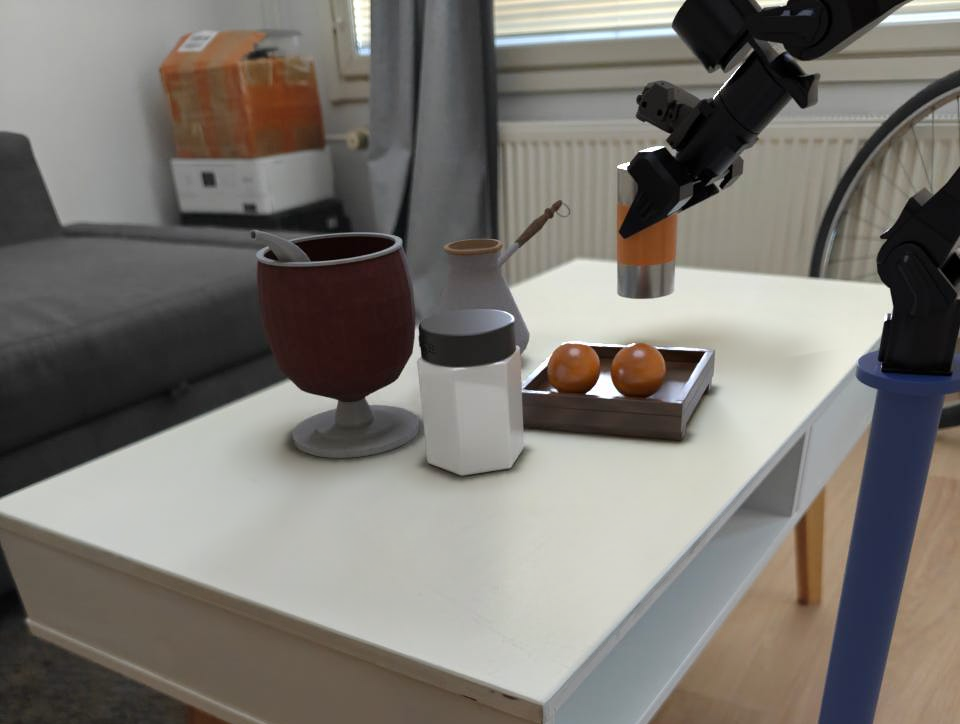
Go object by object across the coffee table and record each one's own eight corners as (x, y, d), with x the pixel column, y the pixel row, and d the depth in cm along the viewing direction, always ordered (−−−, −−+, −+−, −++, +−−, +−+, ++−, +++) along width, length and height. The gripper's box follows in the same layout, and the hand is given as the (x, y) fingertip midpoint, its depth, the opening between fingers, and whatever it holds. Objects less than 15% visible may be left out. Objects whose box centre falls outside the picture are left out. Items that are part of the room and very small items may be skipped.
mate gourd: (350, 400, 98) (320, 194, 87) (455, 420, 91) (437, 199, 80) (243, 451, 88) (193, 226, 77) (352, 478, 81) (314, 234, 70)
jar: (449, 436, 88) (437, 306, 81) (531, 440, 86) (527, 307, 79) (416, 474, 81) (401, 335, 74) (505, 479, 79) (498, 337, 72)
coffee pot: (483, 386, 99) (473, 237, 91) (410, 369, 106) (395, 228, 98) (603, 337, 112) (604, 201, 103) (531, 324, 118) (526, 196, 110)
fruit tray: (712, 385, 95) (718, 310, 91) (680, 443, 83) (685, 360, 79) (564, 376, 100) (563, 305, 96) (513, 429, 88) (509, 351, 84)
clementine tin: (672, 283, 107) (677, 158, 100) (676, 297, 102) (681, 166, 94) (616, 286, 108) (616, 162, 101) (616, 300, 102) (617, 170, 95)
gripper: (722, 40, 96) (625, 160, 108) (648, 52, 84) (546, 186, 95) (790, 124, 97) (686, 234, 108) (726, 148, 84) (615, 270, 96)
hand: (635, 229), depth 102 cm, fingers closed on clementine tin, 6 cm apart
